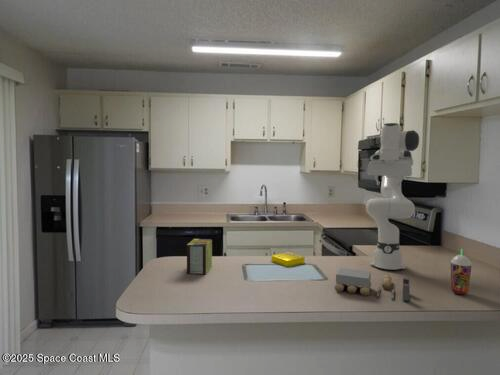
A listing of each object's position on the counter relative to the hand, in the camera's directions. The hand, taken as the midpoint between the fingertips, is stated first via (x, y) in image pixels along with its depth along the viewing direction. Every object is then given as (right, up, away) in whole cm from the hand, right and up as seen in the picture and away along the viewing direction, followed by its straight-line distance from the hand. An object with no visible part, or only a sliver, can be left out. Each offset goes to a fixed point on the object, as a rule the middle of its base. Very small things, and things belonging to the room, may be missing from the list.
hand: (388, 185), depth 171 cm
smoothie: (+29, -49, -9) cm, 58 cm away
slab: (-19, -44, -8) cm, 49 cm away
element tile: (-45, -46, +37) cm, 74 cm away
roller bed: (-15, -49, -10) cm, 52 cm away
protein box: (-94, -46, +20) cm, 107 cm away
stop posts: (+1, -49, -17) cm, 52 cm away
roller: (-1, -49, -1) cm, 49 cm away
